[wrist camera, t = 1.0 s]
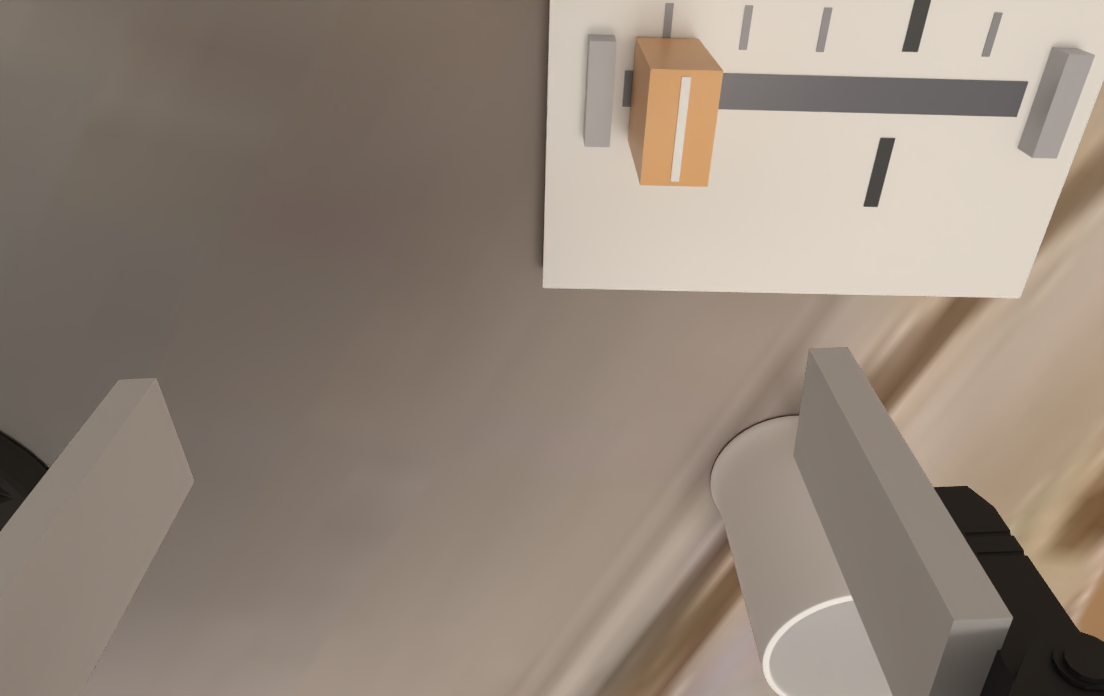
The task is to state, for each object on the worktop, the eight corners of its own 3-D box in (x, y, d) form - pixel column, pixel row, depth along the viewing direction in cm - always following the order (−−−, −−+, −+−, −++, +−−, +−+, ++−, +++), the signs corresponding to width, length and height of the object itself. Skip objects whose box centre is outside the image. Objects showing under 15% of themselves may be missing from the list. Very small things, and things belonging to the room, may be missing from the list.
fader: (627, 140, 33) (640, 186, 29) (636, 37, 31) (651, 69, 26) (686, 142, 33) (708, 187, 29) (699, 38, 31) (724, 71, 26)
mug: (732, 360, 41) (793, 529, 31) (896, 366, 42) (1010, 535, 31) (699, 527, 48) (741, 713, 37) (842, 531, 48) (922, 717, 38)
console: (542, 268, 38) (542, 300, 36) (552, -120, 30) (553, -116, 27) (999, 278, 39) (1033, 310, 36) (1136, -101, 30) (1194, -96, 28)
